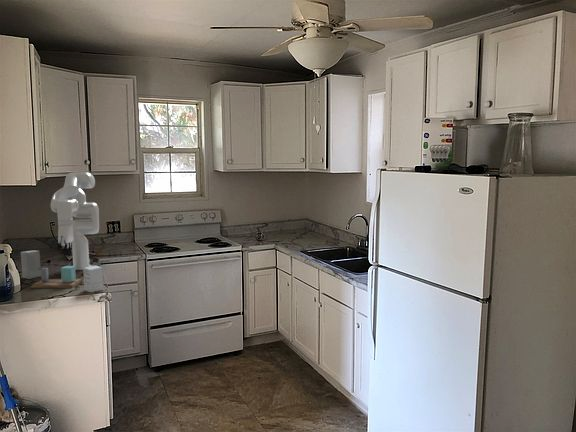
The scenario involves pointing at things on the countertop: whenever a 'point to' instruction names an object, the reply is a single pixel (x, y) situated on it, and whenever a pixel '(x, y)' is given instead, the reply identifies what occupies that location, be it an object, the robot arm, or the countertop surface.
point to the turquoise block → (68, 273)
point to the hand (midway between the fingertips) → (67, 254)
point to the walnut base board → (56, 284)
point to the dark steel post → (44, 275)
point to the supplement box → (93, 278)
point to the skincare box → (30, 264)
